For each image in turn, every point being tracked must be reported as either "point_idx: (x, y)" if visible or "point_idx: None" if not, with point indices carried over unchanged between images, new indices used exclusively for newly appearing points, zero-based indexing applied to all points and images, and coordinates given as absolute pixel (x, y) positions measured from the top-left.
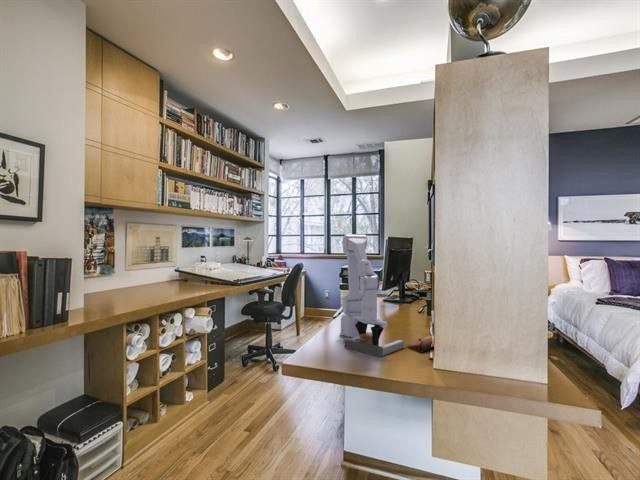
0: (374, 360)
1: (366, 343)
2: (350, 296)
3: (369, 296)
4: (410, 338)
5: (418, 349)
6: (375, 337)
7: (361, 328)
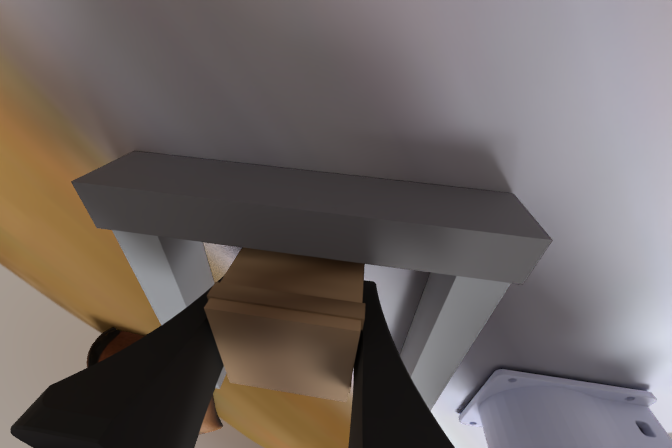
0: (75, 40)
1: (263, 239)
2: None
3: None
4: (279, 426)
5: (121, 343)
6: (176, 318)
7: (358, 422)
